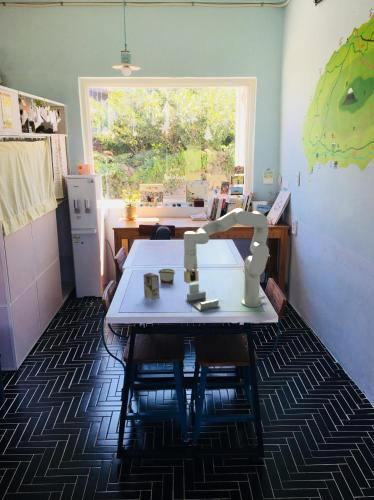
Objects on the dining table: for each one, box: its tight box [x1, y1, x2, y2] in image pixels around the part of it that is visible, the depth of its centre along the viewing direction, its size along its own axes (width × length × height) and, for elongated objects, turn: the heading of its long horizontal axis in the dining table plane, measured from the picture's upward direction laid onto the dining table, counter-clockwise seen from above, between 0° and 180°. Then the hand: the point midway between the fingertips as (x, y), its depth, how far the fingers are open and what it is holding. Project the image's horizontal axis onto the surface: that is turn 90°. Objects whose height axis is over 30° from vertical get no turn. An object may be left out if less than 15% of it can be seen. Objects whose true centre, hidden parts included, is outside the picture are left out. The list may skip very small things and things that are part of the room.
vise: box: [185, 296, 221, 313], centre depth 267 cm, size 14×20×5 cm
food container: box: [158, 268, 176, 285], centre depth 306 cm, size 12×6×10 cm, turn 74°
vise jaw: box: [186, 282, 207, 301], centre depth 274 cm, size 12×6×9 cm, turn 118°
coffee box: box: [142, 272, 160, 301], centre depth 278 cm, size 9×6×16 cm
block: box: [183, 269, 199, 284], centre depth 258 cm, size 8×4×7 cm, turn 118°
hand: (191, 279), depth 259 cm, fingers closed on block, 4 cm apart
